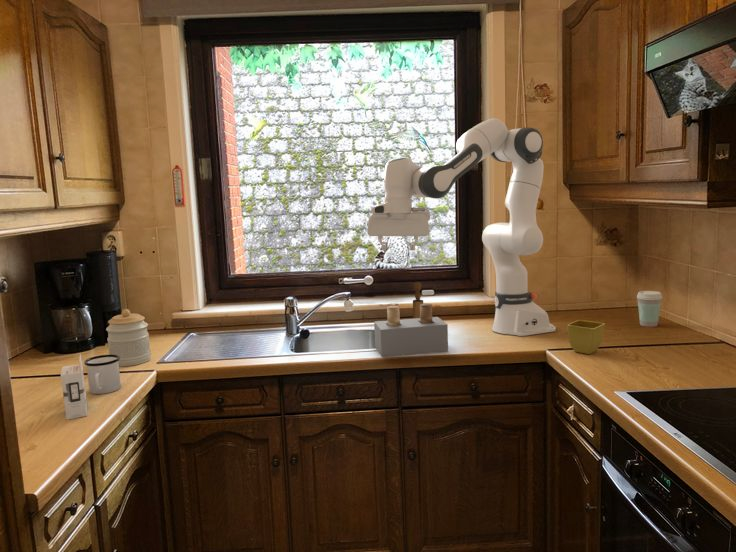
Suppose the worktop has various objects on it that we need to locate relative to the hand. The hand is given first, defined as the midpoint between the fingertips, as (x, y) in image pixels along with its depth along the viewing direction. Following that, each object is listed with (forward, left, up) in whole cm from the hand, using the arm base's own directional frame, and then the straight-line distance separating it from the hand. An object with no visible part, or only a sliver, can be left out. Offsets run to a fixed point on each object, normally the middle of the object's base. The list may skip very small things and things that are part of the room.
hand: (398, 250), depth 203 cm
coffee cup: (-92, -2, -33) cm, 98 cm away
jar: (+90, -10, -33) cm, 96 cm away
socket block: (-2, +4, -33) cm, 33 cm away
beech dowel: (+3, +4, -27) cm, 27 cm away
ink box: (+93, +36, -33) cm, 105 cm away
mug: (+91, +20, -33) cm, 98 cm away
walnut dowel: (-8, +4, -27) cm, 28 cm away
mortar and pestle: (-11, -22, -33) cm, 42 cm away
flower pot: (-54, +23, -33) cm, 68 cm away
